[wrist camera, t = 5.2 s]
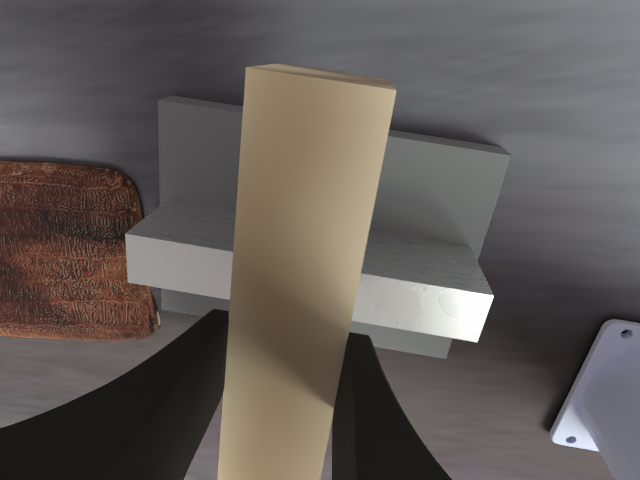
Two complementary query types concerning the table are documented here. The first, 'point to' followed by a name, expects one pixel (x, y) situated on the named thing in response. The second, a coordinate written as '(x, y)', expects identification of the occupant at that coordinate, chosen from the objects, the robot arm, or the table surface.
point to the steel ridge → (374, 285)
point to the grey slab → (390, 203)
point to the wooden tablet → (69, 254)
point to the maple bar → (297, 261)
